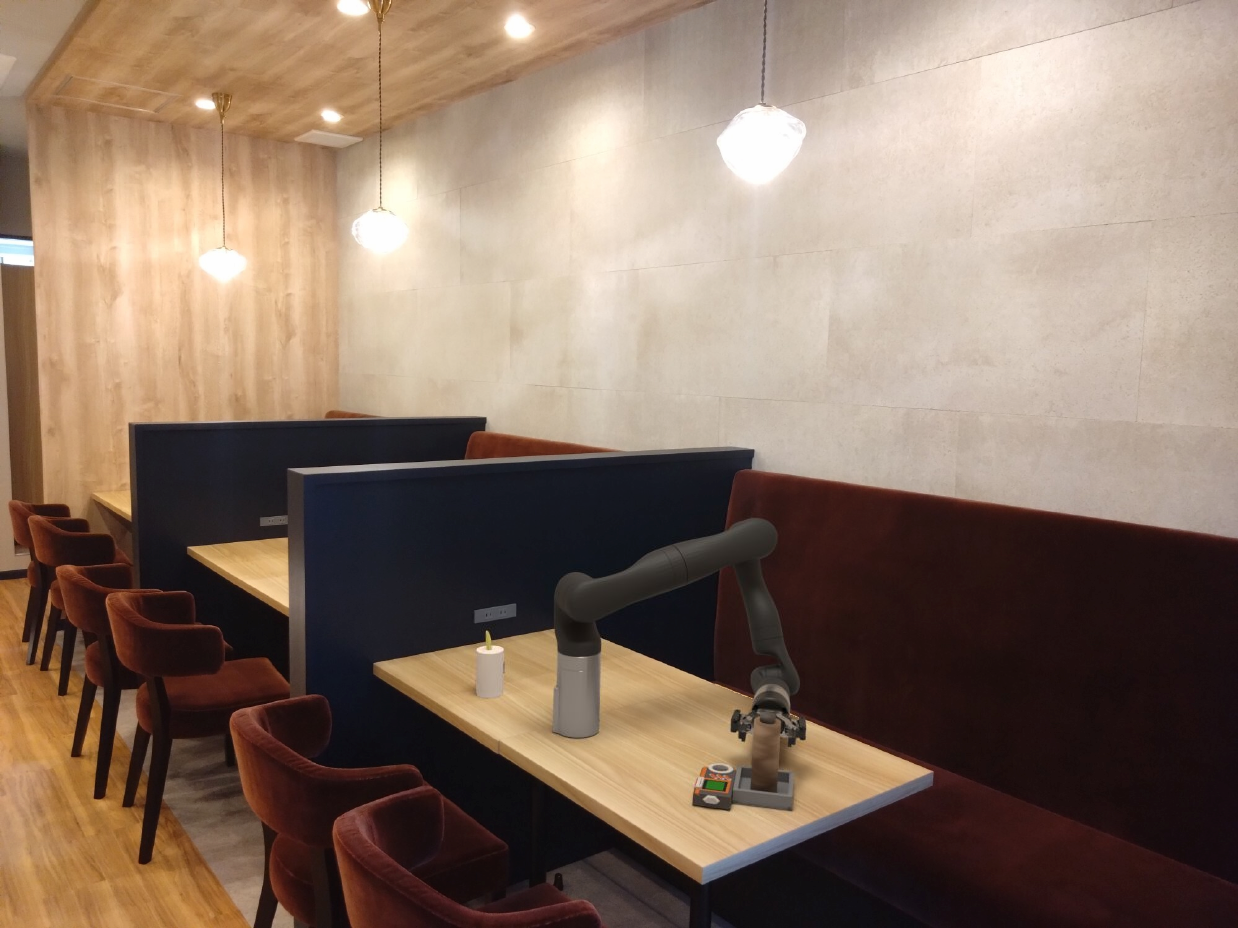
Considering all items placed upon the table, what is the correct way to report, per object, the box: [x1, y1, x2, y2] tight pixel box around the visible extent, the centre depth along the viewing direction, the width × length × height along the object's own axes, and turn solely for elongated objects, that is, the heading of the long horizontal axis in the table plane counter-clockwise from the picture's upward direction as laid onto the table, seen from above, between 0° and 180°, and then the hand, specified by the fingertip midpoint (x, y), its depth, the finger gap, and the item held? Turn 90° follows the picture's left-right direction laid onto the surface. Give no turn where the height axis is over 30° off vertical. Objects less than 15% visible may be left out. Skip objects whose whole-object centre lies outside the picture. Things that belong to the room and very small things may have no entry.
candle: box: [475, 630, 506, 699], centre depth 210 cm, size 6×6×15 cm
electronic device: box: [692, 762, 737, 810], centre depth 166 cm, size 7×3×15 cm
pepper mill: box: [750, 712, 781, 793], centre depth 164 cm, size 5×5×14 cm
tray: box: [731, 764, 795, 811], centre depth 165 cm, size 10×10×2 cm
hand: (766, 739), depth 168 cm, fingers open, 8 cm apart
